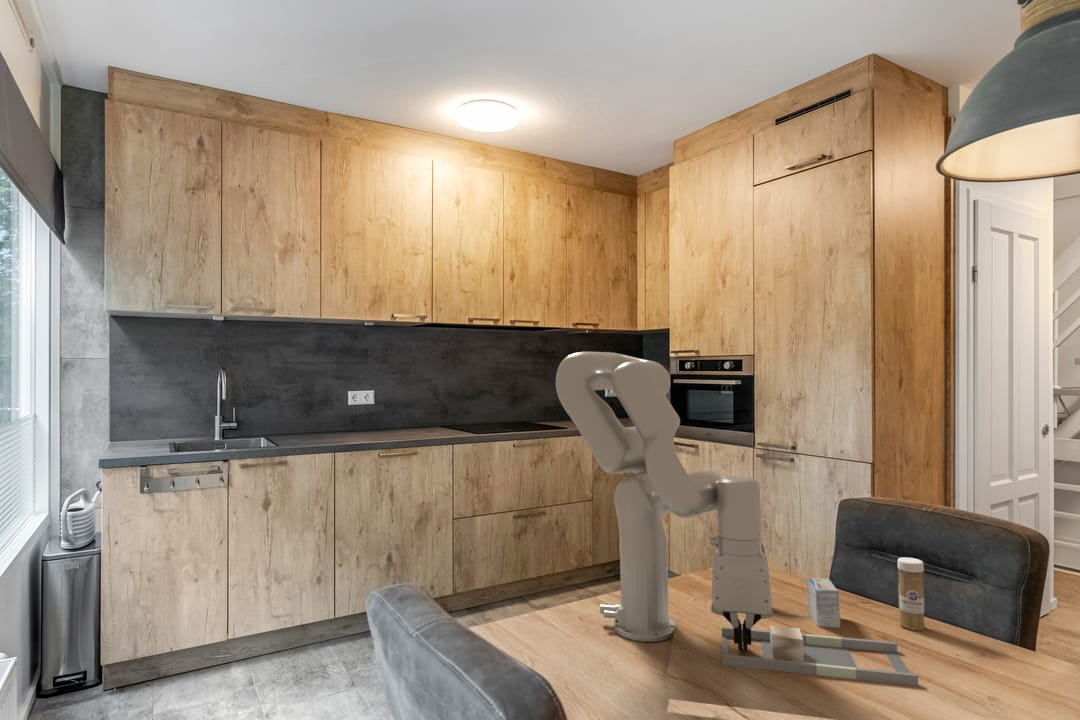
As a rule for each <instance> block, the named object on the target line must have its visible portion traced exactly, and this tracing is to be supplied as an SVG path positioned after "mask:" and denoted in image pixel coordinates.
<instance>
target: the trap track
mask: <svg viewBox="0 0 1080 720" xmlns="http://www.w3.org/2000/svg"><path fill="white" fill-rule="evenodd" d="M801 635H802V638H803V657H804V662H796V661H786V660H777V659H773V658H772V653H771V646H770V630H765V629H764V630H763V629H753V628H751V640H756V641H757V640H758V641H760V644H761V651H762V657H754V656H745V655H737V654H736V655H735V654H729V647H728V646H729V645H728V644H729V641H728V638H734V627H733V626H732V627H731V626H721V651H722V653H721V654H722V655H721V656H722V657H721V658H722V661H721V662H722V666H728V667H739V668H746V669H754V670H755V669H757V670H765V671H766V670H767V671H776V672H786V673H792V674H793V673H795V674H801V675H802V674H803V675H811V676H812V675H814V676H824V677H831V678H839V679H840V678H842V679H849V680H860V681H870V682H879V683H880V682H881V683H889V684H898V685H906V686H914V687H915V686H916V687H918V686H919V675H918V674H917V673H913V672H910V670H909V669H908V668H907V666H906V664H905V663H904V661H903V660H902V658H901V656H900V655H899V653H898V644H897V642H895V641H887V640H886V641H885V640H875V639H866V638H865V639H864V638H863V639H862V638H852V637H841V636H830V635H819V634H808V633H801ZM742 639H743V631H742ZM850 649H851V650H852V649H853V650H862V651H873V652H874V651H875V652H882V653H883V652H884V653H885V654H886V657H887V658H888V660H889V662H890V663H891V665H892V667H893V668H894V669H895V671H892V670H884V669H883V670H882V669H873V668H863V667H858V666H857V664H856V663H855V660H854V657H853V656H852V654H851V651H850Z"/></svg>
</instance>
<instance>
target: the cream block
mask: <svg viewBox="0 0 1080 720" xmlns="http://www.w3.org/2000/svg"><path fill="white" fill-rule="evenodd" d="M769 631H770V646H771V653H772V658H773V659H777V660H786V661H796V662H804V657H803V638H802V635H801V634H802V632H801V630H800V628H799V627H789V626H780V625H779V626H778V625H769Z"/></svg>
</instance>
